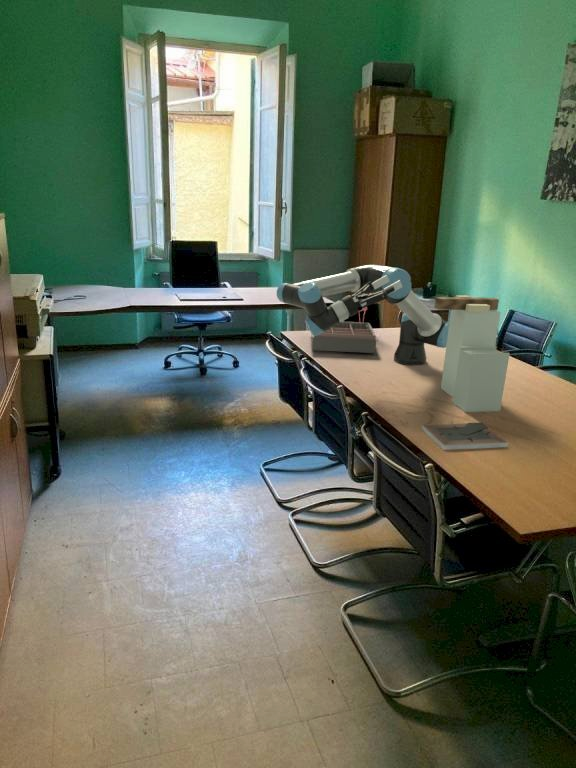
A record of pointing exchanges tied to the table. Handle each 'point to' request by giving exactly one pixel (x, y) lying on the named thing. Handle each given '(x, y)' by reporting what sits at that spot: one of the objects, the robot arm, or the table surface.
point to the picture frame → (464, 436)
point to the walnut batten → (463, 302)
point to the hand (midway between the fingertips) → (394, 280)
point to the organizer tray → (346, 338)
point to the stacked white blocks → (467, 337)
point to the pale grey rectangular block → (480, 379)
